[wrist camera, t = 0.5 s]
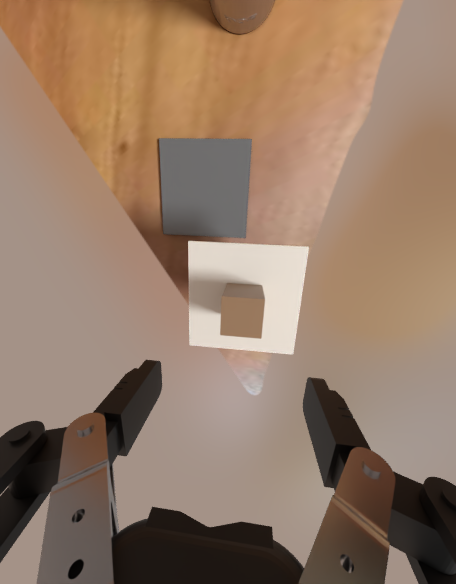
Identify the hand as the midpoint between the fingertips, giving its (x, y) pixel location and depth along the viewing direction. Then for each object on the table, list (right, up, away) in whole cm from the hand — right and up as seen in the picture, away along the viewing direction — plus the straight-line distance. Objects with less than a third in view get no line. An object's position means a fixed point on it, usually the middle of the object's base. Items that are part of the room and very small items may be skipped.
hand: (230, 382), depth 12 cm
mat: (-4, +22, +25) cm, 34 cm away
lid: (+2, +4, +14) cm, 15 cm away
